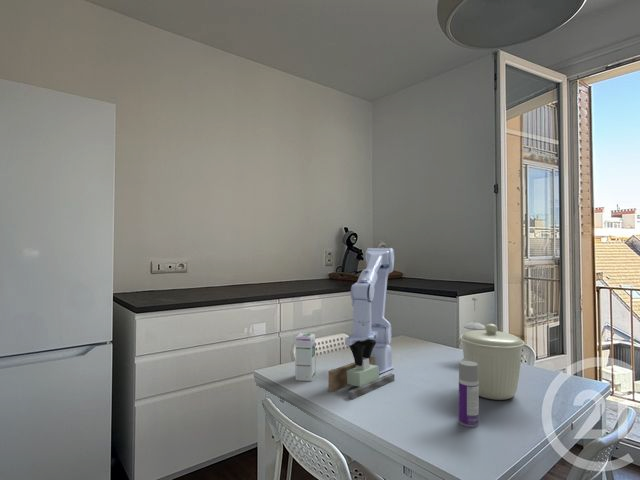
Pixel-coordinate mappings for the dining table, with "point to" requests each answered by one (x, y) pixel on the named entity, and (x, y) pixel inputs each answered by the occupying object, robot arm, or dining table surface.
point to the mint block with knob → (363, 374)
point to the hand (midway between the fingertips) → (362, 364)
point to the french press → (474, 323)
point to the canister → (494, 360)
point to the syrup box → (305, 357)
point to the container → (468, 394)
